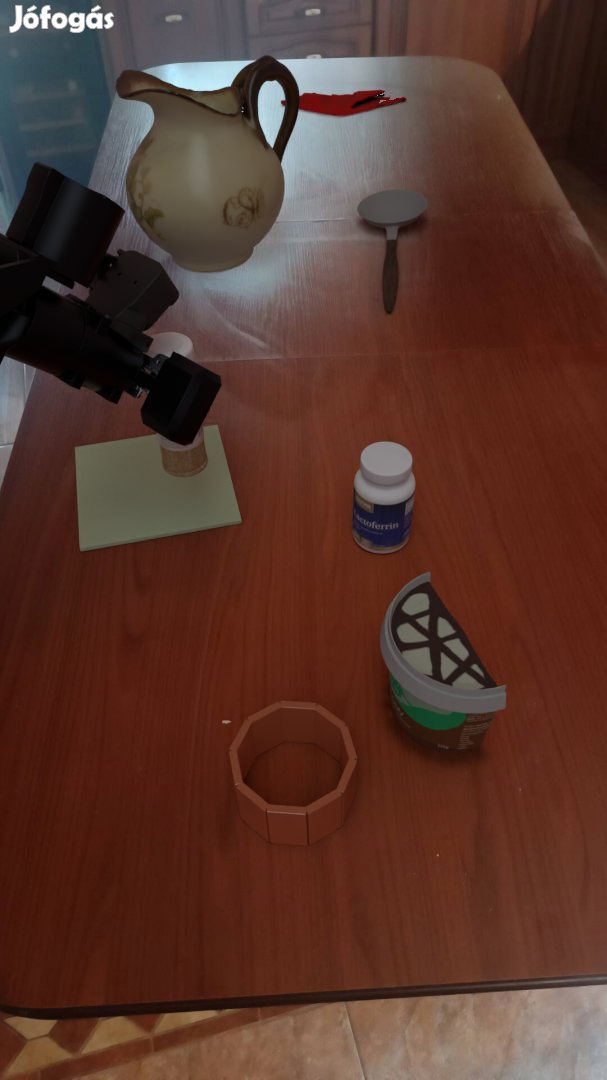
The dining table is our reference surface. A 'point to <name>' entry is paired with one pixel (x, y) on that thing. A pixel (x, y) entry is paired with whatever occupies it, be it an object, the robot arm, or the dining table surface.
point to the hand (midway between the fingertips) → (186, 394)
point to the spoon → (392, 228)
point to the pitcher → (208, 166)
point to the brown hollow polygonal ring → (302, 727)
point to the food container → (436, 673)
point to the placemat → (149, 492)
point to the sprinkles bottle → (194, 455)
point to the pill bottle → (383, 498)
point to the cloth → (344, 102)
